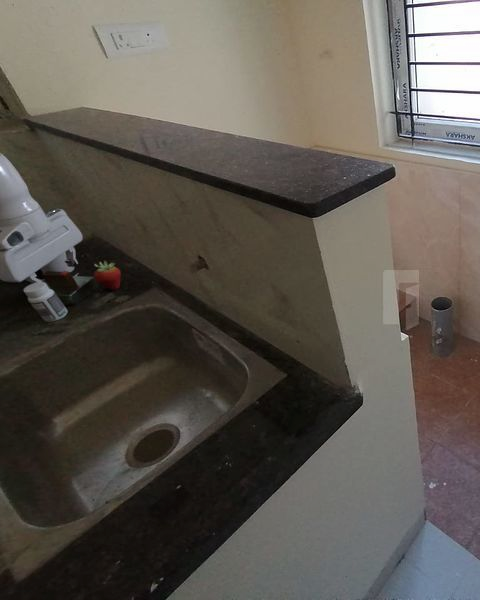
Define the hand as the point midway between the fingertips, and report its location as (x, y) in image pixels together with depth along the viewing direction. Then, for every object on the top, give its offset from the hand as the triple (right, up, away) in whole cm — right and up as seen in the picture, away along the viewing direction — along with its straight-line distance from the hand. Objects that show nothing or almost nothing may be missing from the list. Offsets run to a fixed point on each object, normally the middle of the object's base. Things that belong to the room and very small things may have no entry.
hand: (59, 276), depth 94 cm
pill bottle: (+2, -10, -3) cm, 11 cm away
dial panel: (0, -5, +3) cm, 6 cm away
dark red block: (0, -2, +1) cm, 3 cm away
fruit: (+10, -3, +5) cm, 12 cm away
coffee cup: (-11, +2, +12) cm, 16 cm away
